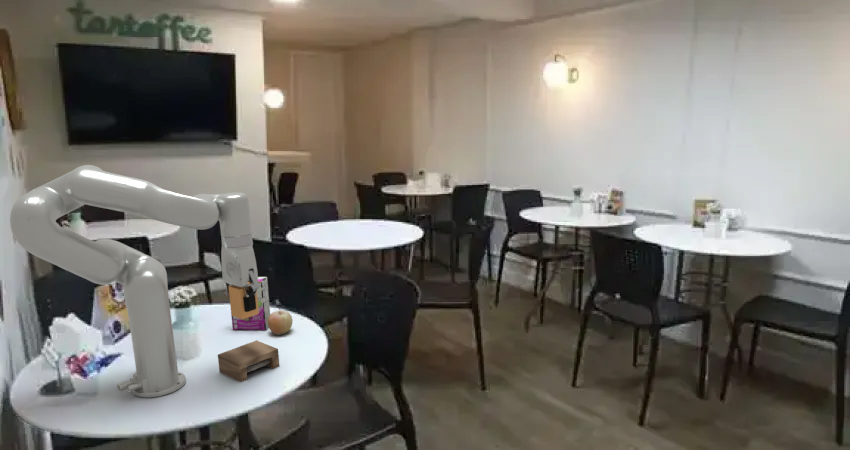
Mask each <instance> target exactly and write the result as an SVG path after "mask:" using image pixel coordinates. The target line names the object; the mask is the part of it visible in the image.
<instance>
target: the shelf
mask: <svg viewBox="0 0 850 450" xmlns="http://www.w3.org/2000/svg"><path fill="white" fill-rule="evenodd" d="M279 357H280V355H279V348H277V347H274V346H272V345H269V344H266V343H264V342H262V341H259V340H254V341H251V342H248V343H246V344H243V345H240V346H237V347H235V348H232V349H229V350H227V351H224V352H221V353H218V354H217V360H218V369H219V370H218V371H219V373H221V374H222V375H224V376H227V377H229V378H231V379H232V380H235V381H237V382H239V383H243V382H246V381H248V374H247V373H249V372H252V371H255V370H258V369H260V368H262V367H265V366H266V367H268V368H271V369H272V370H273V369H277V368H279V367H280V365H281V364H280V358H279Z"/></svg>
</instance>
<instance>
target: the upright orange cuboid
mask: <svg viewBox="0 0 850 450" xmlns="http://www.w3.org/2000/svg"><path fill="white" fill-rule="evenodd" d="M247 284H250V283H247ZM227 286H228V285H227ZM249 288H250V286H249V287H247V290H249ZM228 295H229V296H228V297H229V303H230V304H229V305H231V306H230V314H232V316H235V317H237V318H240V319H245V318H248V317H251V316H254V315H257V314H259V309H258V300H257V291H256V295H255V299H256V309H255V310H252V311H249V312H245V310H244V301H243V297H245V296H244V292H243V288H242V287H238V286H234V285H231V286H228Z"/></svg>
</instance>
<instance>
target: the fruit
mask: <svg viewBox="0 0 850 450" xmlns="http://www.w3.org/2000/svg"><path fill="white" fill-rule="evenodd" d="M278 309H279V310H276V311H273V312H270V315H269V317H268V326H269V328H268V329H269V330H270V331H271V332H272V333H273V334H275V335H277V336H278V335H284V334H287V333H288V332H289V331H290V330H291V328H292V327H293V326H292V325H293V316H292V314H291V313H290V312H289V311H286V310H284V309H283V310H281V307H279V308H278Z"/></svg>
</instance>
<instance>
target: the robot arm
mask: <svg viewBox="0 0 850 450" xmlns="http://www.w3.org/2000/svg"><path fill="white" fill-rule="evenodd" d="M85 205H87V206H92V207H97V208H102V209H108V210H112V211H116V212H121V213H127V214H132V215H136V216H139V217H142V218H145V219H150V220H153V221H158V222H161V223H165V224H169V225H174V226H178V227H183V228H188V229H193V230H198V231H199V230H208V229H211V228H213V227H214V226H215V225H216V224H217V223H218V221H219V227H220V236H221V237H220V238H221V245H222V246H221V251H220V252H221V253H220V255H221V256H220V258H221V261H220V262H221V275H222V276H221V277H222V280H223V282H224V283H226V284H227V286H231V285H234V286H238V287H242V288H243V292H244V296H245V297H243V301H244V310H245V312H249V311H252V310H255V309H256V299H255V295H256V291H257V289H258V288H259V287H260V285H259V283H258V277H259V276H258V275H259V274H258V267H257V260H256V259H257V258H256V256H255V252H254V251H255V250H254V248H253V245H254V242H253V233H252V222H251V213H250V200H249V197H248V195H247V194H246V193H245V192H241V191H239V192H238V191H237V192H235V191H233V192H227V193H221V194H220V193H219V194H217V193H213V194H210V193H198V194H194V195H193V196H190V195H186V194H181V193H178V192H177V193H176V192H174V191H170V190H168V189H164V188H162V187H160V186H157V185H156V184H155V183H152V182H150V181H148V180H145V179H142V178H136V177H132V176H126V175H123V174H118V173H113V172H109V171H105V170H103V169H102V168H101V167H99V166H96V165H92V164H84V165H80V166H77V167H76V168H74V169H73V170H70V171H69V172H67V173H65V174H63V175H61V176H59V177H56V178H55V179H52V180H51V181H49V182H46V183H44V184H42V185H39V186H38V187H35V188H34V189H31V190H30V191H28V192H27V193H25V194H23V195H21V196H20V197H18V199H17V200H16V201H14V204H13V205H12V208H11V210H10V214H9V215H10V216H9V223H10V224H9V225H10V229H11V232H12V236H13V237H14V239H15V240H16V242H17V243H18V244H19V246H20V247H22V248H23V250H25V251H26V252H28V253H30V254H31V255H33V256H35V257H37V258H39V259H41V260H43V261H45V262H47V263H50V264H52V265H55V266H57V267H59V268H61V269H63V270H65V271H67V272H70V273H72V274H74V275H76V276H78V277H81V278H83V279H84V280H85V279H86V280H87V281H89V282H90V283H94V284H98V285H101V286H102V285H109V284H112V283H115V282H116V283H118V284H119V285H122V286H123V294H124V301H125V306H126V312H127V317H128V324H129V331H130V335H131V342H132V349H133V351H132V352H133V357H134V364H135V370H136V372H134V373H132V377H131V378H129V380H126V381H123V382H120V383H118V384H116V388H117V391H118V392H123V391H125V390H127V391H128V392H132V394H133V395H135V396H136V397H139V398H157V397H161V396H165V395H169V394H171V393H174V392H176V391H178V390H179V389H181V388H182V387H183V386H184V385H185V383H186V375H185V374H184V373H182V372H180V371H179V369H178V361H177V353H176V345H175V336H174V328H173V323H172V322H173V321H172V320H173V319H172V314H171V307H170V298H169V289H168V288H169V287H168V286H169V285H168V274H167V270H166V267H165V266H164V264H162V263H161V262H160V261H159V260H157V259H156V258H154V257H152V256H151V255H148V254H145V253H144V252H142V251H139V250H138V249H135V248H133V247H130V246H128V245H126V244H125V243H122V242H121V241H118V240H115V239H109V238H102V239H97V240H92V239H89V238H87V237H85V236H83V235H81V234H79V233H77V232H75V231H72V230H70V229H66V228H64V227H62V226H60V225H59V224H58V223H57V220H58V219H59V218H62V217H63V216H65V215H67V214H69V213H72V212H73V211H75V210H77V209H79V208H80V207H83V206H85ZM248 282H250V284H247V283H248ZM249 286H250V288H249V290H247V287H249Z"/></svg>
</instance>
